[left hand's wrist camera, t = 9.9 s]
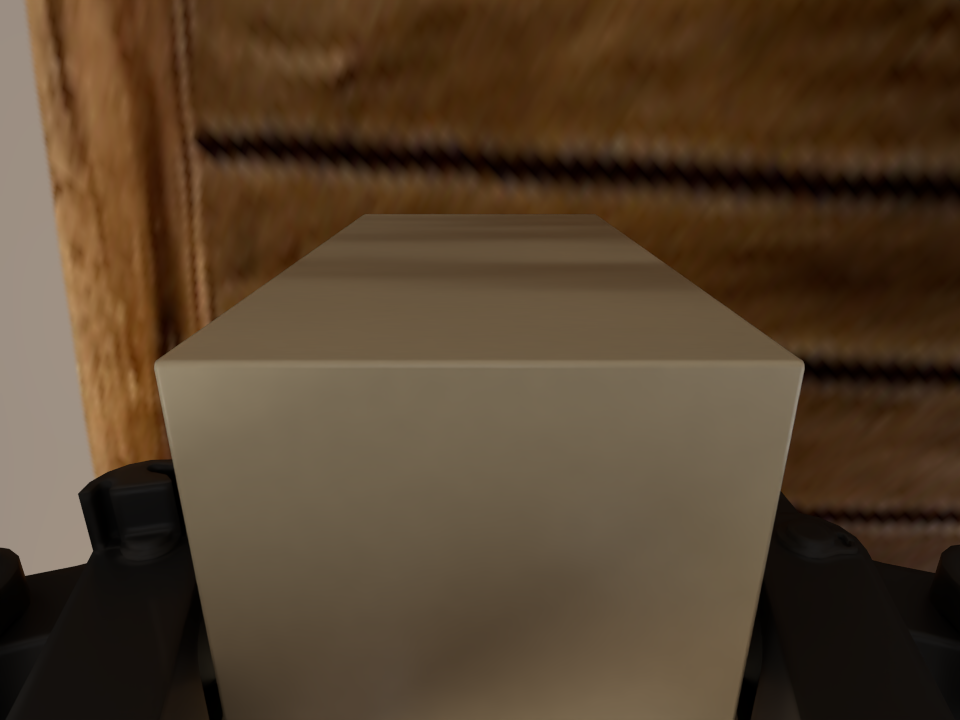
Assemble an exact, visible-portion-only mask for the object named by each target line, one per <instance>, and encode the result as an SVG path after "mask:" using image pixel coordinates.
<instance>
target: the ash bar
mask: <svg viewBox="0 0 960 720" xmlns="http://www.w3.org/2000/svg"><path fill="white" fill-rule="evenodd" d="M804 369H805V367H804V362H803V361H802V360H801V359H799V358H798V357H796V356H795V355H794V354H792V353H791V352H789V351H788V350H787V349H785V348H784V347H782V346H781V345H780V344H778V343H777V342H775V341H774V340H772V339H771V338H770V337H768V336H767V335H765V334H764V333H763V332H761V331H760V330H758V329H757V328H755V327H754V326H753V325H751V324H750V323H748V322H747V321H746V320H744V319H743V318H741V317H740V316H738V315H737V314H736V313H734V312H733V311H731V310H730V309H729V308H727V307H726V306H724V305H723V304H722V303H720V302H719V301H717V300H716V299H714V298H713V297H712V296H710V295H709V294H707V293H706V292H705V291H703V290H702V289H700V288H699V287H697V286H696V285H695V284H693V283H692V282H690V281H689V280H688V279H686V278H685V277H683V276H682V275H680V274H679V273H678V272H676V271H675V270H673V269H672V268H671V267H669V266H668V265H666V264H665V263H664V262H662V261H661V260H659V259H658V258H656V257H655V256H654V255H652V254H651V253H649V252H648V251H647V250H645V249H644V248H642V247H641V246H639V245H638V244H637V243H635V242H634V241H632V240H631V239H630V238H628V237H627V236H625V235H624V234H622V233H621V232H620V231H618V230H617V229H615V228H614V227H613V226H611V225H610V224H608V223H607V222H606V221H604V220H603V219H601V218H600V217H598V216H597V215H595V214H365V215H363V216H362V217H360V218H359V219H357V220H356V221H354V222H353V223H352V224H350V225H349V226H347V227H346V228H344V229H343V230H342V231H340V232H339V233H337V234H336V235H335V236H333V237H332V238H330V239H329V240H327V241H326V242H325V243H323V244H322V245H320V246H319V247H317V248H316V249H315V250H313V251H312V252H310V253H309V254H307V255H306V256H305V257H303V258H302V259H300V260H299V261H298V262H296V263H295V264H293V265H292V266H290V267H289V268H288V269H286V270H285V271H283V272H282V273H280V274H279V275H278V276H276V277H275V278H273V279H272V280H270V281H269V282H268V283H266V284H265V285H263V286H262V287H261V288H259V289H258V290H256V291H255V292H253V293H252V294H251V295H249V296H248V297H246V298H245V299H243V300H242V301H241V302H239V303H238V304H236V305H235V306H233V307H232V308H231V309H229V310H228V311H226V312H225V313H224V314H222V315H221V316H219V317H218V318H216V319H215V320H214V321H212V322H211V323H209V324H208V325H206V326H205V327H204V328H202V329H201V330H199V331H198V332H196V333H195V334H194V335H192V336H191V337H189V338H188V339H187V340H185V341H184V342H182V343H181V344H179V345H178V346H177V347H175V348H174V349H172V350H171V351H169V352H168V353H167V354H165V355H164V356H162V357H161V358H160V359H158V360H157V361H156V362H155V366H154V370H155V375H156V380H157V385H158V390H159V395H160V400H161V405H162V410H163V415H164V420H165V425H166V430H167V435H168V440H169V445H170V450H171V455H172V460H173V465H174V470H175V475H176V480H177V485H178V490H179V495H180V500H181V505H182V510H183V516H184V521H185V526H186V531H187V536H188V541H189V546H190V551H191V556H192V561H193V566H194V571H195V576H196V581H197V586H198V591H199V596H200V601H201V606H202V611H203V616H204V621H205V626H206V631H207V636H208V641H209V646H210V651H211V656H212V661H213V666H214V671H215V676H216V681H217V686H218V691H219V696H220V702H221V707H222V712H223V717H224V720H735V718H736V712H737V707H738V702H739V697H740V692H741V687H742V682H743V677H744V672H745V667H746V662H747V657H748V652H749V647H750V642H751V637H752V632H753V627H754V622H755V617H756V611H757V606H758V601H759V596H760V591H761V586H762V581H763V576H764V571H765V566H766V561H767V556H768V551H769V546H770V541H771V536H772V531H773V526H774V521H775V516H776V510H777V505H778V500H779V495H780V490H781V485H782V480H783V475H784V470H785V465H786V460H787V455H788V450H789V445H790V440H791V435H792V430H793V425H794V420H795V415H796V410H797V404H798V399H799V394H800V389H801V384H802V379H803V374H804Z"/></svg>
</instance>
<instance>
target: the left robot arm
mask: <svg viewBox="0 0 960 720" xmlns="http://www.w3.org/2000/svg"><path fill="white" fill-rule="evenodd" d="M78 495H79V499H80V503H81V507H82V510H83V514H84V518H85V522H86V525H87V529H88V533H89V537H90V540H91V544H92V548H93V552H92V554H91V556H90V558H89V560H88V562H87V563H86V564H82V565H78V566H74V567H69V568H64V569H59V570H53V571H48V572H43V573H38V574H33V575H28V576H25V574H24V571H23V568H22V565H21V562H20V559H19V556H18V555H17V554H15V553H14V552H13V551H11V550H10V549H6V548H0V720H224V717H223V712H222V707H221V702H220V696H219V691H218V686H217V681H216V676H215V671H214V666H213V661H212V656H211V651H210V646H209V641H208V636H207V631H206V626H205V621H204V616H203V611H202V606H201V601H200V596H199V591H198V586H197V581H196V576H195V571H194V566H193V561H192V556H191V551H190V546H189V541H188V536H187V531H186V526H185V521H184V516H183V510H182V505H181V500H180V495H179V490H178V485H177V480H176V475H175V470H174V465H173V460H172V459H171V460H149V461H144V462H139V463H134V464H129V465H126V466H123V467H121V468H118V469H115V470H112V471H109V472H107V473H105V474H103V475H102V476H100V477H98V478H96V479H95V480H93V481H91V482H89V484H87V485H86V486H85V487H84V488H83V489H82V490H81V491H80V492H79V493H78ZM735 720H960V545H954V546H950V547H949V548H948V549H946V550H945V551H944V552H943V553H942V554H941V557H940V560H939V563H938V566H937V570H936V573H931V572H926V571H921V570H916V569H911V568H906V567H901V566H896V565H890V564H885V563H881V562H877V561H873V560H872V559H871V557H870V555H869V553H868V551H867V550H866V549H865V547H864V546H863V545H862V544H861V543H860V541H859V540H858V539H857V538H856V537H855V536H853V535H852V534H850V533H849V532H847V531H846V530H844V529H843V528H841V527H840V526H838V525H836V524H833V523H831V522H828V521H826V520H824V519H821V518H819V517H815V516H810V515H806V514H802V513H799V512H798V511H797V510H796V509H795V508H794V507H793V505H792V504H791V503H790V502H789V501H788V499H787V498H786V497H785V496H784V495H783V493H782V492H781V491H780V495H779V500H778V505H777V510H776V516H775V521H774V526H773V531H772V536H771V541H770V546H769V551H768V556H767V561H766V566H765V571H764V576H763V581H762V586H761V591H760V596H759V601H758V606H757V611H756V617H755V622H754V627H753V632H752V637H751V642H750V647H749V652H748V657H747V662H746V667H745V672H744V677H743V682H742V687H741V692H740V697H739V702H738V707H737V712H736V718H735Z"/></svg>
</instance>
